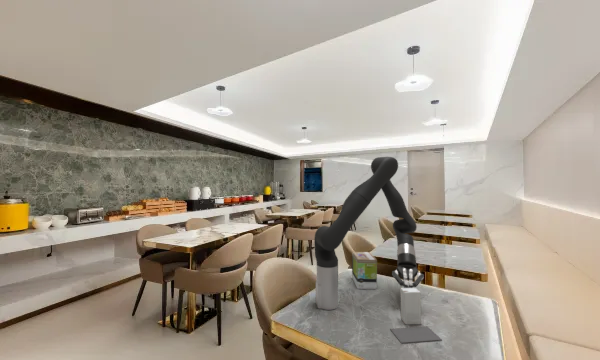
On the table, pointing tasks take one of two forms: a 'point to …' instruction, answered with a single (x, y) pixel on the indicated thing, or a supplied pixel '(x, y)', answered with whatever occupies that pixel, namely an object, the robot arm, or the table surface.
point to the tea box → (364, 270)
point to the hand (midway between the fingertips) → (409, 295)
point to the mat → (415, 334)
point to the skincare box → (410, 306)
